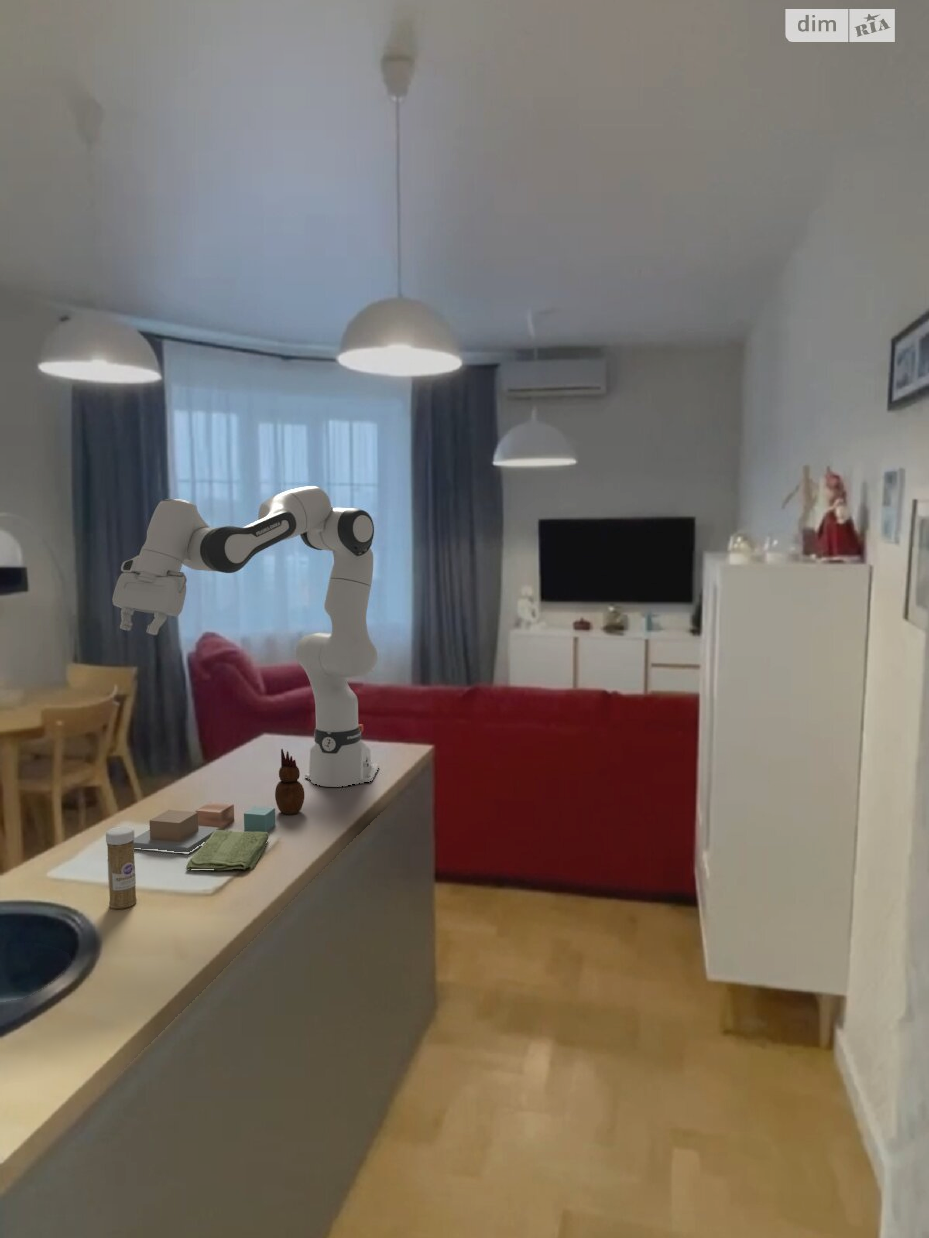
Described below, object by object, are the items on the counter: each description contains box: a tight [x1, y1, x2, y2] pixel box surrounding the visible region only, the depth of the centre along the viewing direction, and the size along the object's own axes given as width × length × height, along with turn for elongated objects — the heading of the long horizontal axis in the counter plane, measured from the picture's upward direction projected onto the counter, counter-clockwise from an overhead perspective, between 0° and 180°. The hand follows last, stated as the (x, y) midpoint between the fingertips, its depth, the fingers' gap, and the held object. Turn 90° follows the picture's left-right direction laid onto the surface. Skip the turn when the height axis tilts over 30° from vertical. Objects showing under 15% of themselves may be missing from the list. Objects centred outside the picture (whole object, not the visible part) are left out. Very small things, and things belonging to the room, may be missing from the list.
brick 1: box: [194, 801, 235, 830], centre depth 186 cm, size 6×6×4 cm
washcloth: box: [185, 829, 270, 871], centre depth 167 cm, size 13×18×3 cm
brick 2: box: [243, 805, 276, 832], centre depth 183 cm, size 5×5×4 cm
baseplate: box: [133, 809, 220, 852], centre depth 175 cm, size 12×14×6 cm
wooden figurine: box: [274, 748, 305, 815], centre depth 193 cm, size 7×6×15 cm
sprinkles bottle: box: [105, 825, 138, 910], centre depth 144 cm, size 5×5×14 cm
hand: (137, 631), depth 174 cm, fingers open, 8 cm apart
